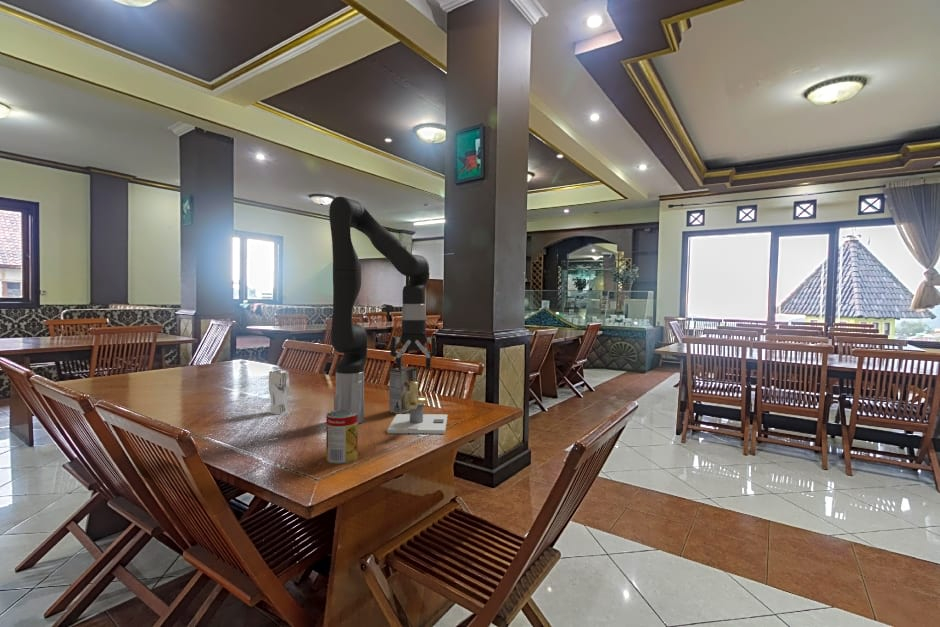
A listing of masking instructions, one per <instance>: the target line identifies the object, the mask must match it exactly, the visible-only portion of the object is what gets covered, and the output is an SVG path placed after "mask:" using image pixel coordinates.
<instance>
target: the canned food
mask: <svg viewBox="0 0 940 627" xmlns="http://www.w3.org/2000/svg"><path fill="white" fill-rule="evenodd" d="M358 425H359V424H358V413H357V411H355V410H349V409H342V410H334V409H333V410H331V411H328V412H327V413H326V461H327V462H328V463H330V464H337V465H340V464H348V463H350V462H353V461H356V460H357V459H358V437H359V436H358Z"/></svg>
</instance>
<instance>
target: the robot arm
mask: <svg viewBox="0 0 940 627" xmlns="http://www.w3.org/2000/svg"><path fill="white" fill-rule="evenodd" d="M328 210H329V211H328V214H329V224H330V235H331V248H332V288H333V289H332V290H333V291H332V294H333V295H332V302H333V303H332V320H331V329H330V330H331V331H330V341H331V345H332V347H333V348H334V351H336V352H338V353H341V354H342V353H343V356H342V358H341V359H340V360H339V361H338V362H336V365H335V394H334V395H333V411H334V410H342V409H349V410H355V411H357V413H358V425H359V424H361V423H363V422H364V421H365V366H366V362H367V357H368V334H367V330H366V329H365V327H364V326H362V325H361V324H358V323H353V309H354V306H355V303H356V301H357V298H358V296H359V293H360V290H361V287H362V266H361V261H360V259H359V256H358V254H357V252H356V250H355V247H354V245H353V241H352V235H351V234H352V233H351V228H354V229H355V230H357V231H359V232H361V233H362V234H364V235H365V236H366V237H367V238H368V239H369V241H370V242H371V245H372V246H373V247H374V248H375V250H376V251H378V253H380V254H382V256H383V257H385V258H386V259H387V260H389V261H390V263H391V264H392V266H393V267H394V268H395V269H396V271H397V272H399V274H400V275H403V276H405V277H409V279H408V284H406V285H404V287H403V288H402V306H401V336H400V337H399V336H395V335H394V336H392V337H391V340H390V341H391V342H390V356H392V357H394V358H395V359H396V368H399V370H401V369H402V367H403V362H402V361H403V357H402V356H403V355H404V353H405V352H406V350H407V351H409V352H412V351H415V352H417V351H418V352H419V351H421V352H422V353H423V354H424V355H425V371H429V369H430V368H431V366H432V364H431V362H432V358H433V357H436V356H437V338H436V336H432V337H430V336H429V337H428V336H427V333H426V332H427V328H426V327H427V314H426V313H427V311H426V288H427V284H428V280H429V274H430V266H429V262H428V259H427V258H426V257H425V256H423V255H418V254H413V253H412V252H410V251H408V249H407V246H406V244H405V243H404V242H402V241H401V240H400V239H399V238H397V237H396V236H395V235H394V234H393V233H391V232H390V231H388V230H387V229H386V228H385V227H384V226H383V225H382V224H380V223H379V222H378V221H377V220H376V219H375V218H374V217H373V215H372V214H371V213H370V211H369V210H368V209H367V208H366V207H365V206H364V205H363V203H361V202H359V201H357V200H354V199H352V198H348V197H345V196H336V197H334V198H333V199H332V200H331V202H330V205H329V209H328ZM399 342H400V343H401V344H402V345H403V346H402V348H400V350H399V351H398V352H397V344H399ZM427 342H429V345H431V352H430V351H429V350H428V348H427V346H425V345H426V343H427Z"/></svg>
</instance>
